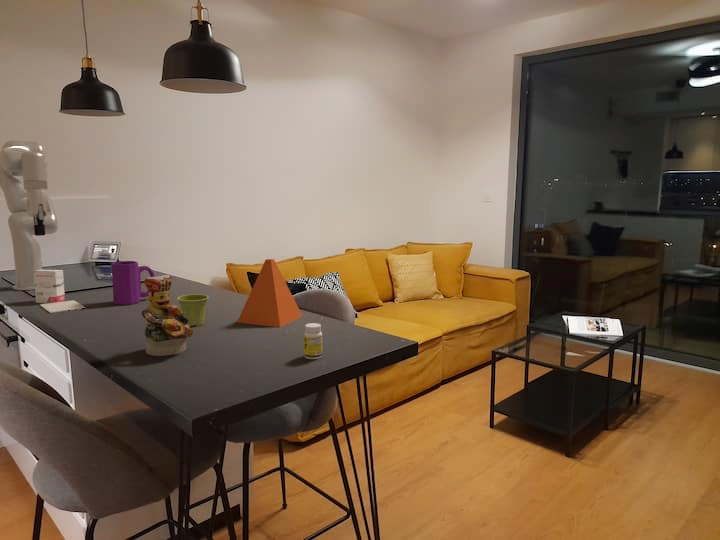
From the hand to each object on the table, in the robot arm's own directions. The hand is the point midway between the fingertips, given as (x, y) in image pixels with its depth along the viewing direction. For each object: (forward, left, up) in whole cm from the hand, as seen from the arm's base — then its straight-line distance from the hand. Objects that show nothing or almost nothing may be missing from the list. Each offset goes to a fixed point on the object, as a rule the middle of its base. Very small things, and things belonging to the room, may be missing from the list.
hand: (40, 235), depth 198 cm
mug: (+28, +24, -24) cm, 44 cm away
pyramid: (+83, +48, -25) cm, 99 cm away
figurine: (+94, +9, -24) cm, 97 cm away
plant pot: (+73, +26, -24) cm, 81 cm away
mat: (+21, +1, -24) cm, 32 cm away
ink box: (+8, 0, -24) cm, 26 cm away
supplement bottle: (+123, +35, -24) cm, 130 cm away
